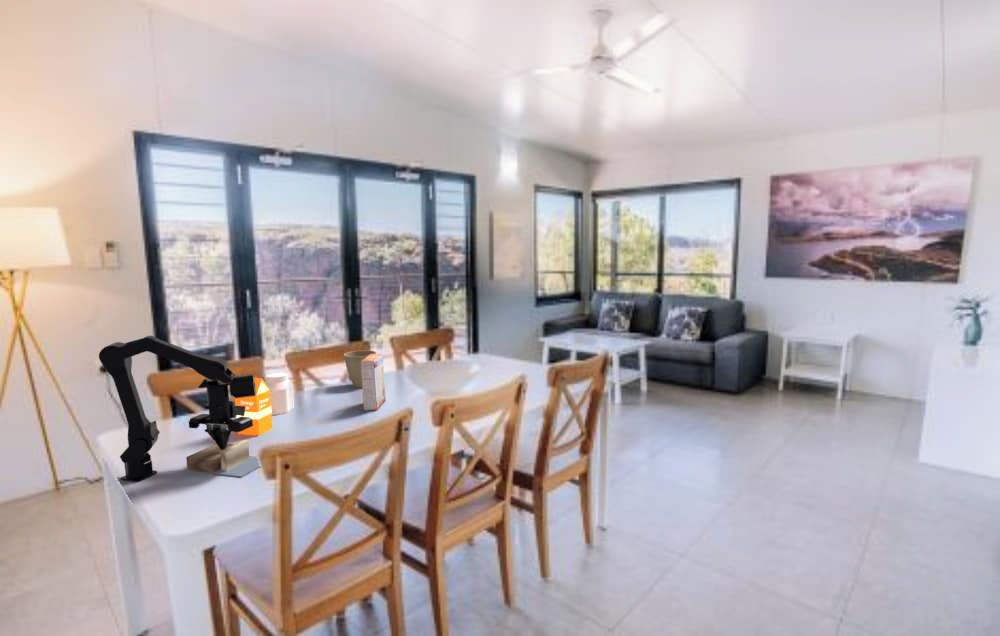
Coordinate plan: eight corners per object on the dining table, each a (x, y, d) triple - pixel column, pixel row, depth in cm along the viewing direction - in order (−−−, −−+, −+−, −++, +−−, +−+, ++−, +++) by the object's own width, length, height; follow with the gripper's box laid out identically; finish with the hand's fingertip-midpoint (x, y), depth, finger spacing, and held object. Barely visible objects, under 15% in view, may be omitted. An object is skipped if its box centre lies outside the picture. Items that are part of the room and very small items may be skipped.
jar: (284, 415, 204) (282, 378, 202) (261, 415, 204) (258, 378, 202) (297, 406, 215) (294, 371, 213) (274, 406, 215) (272, 371, 213)
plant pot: (339, 388, 242) (337, 355, 240) (357, 380, 256) (355, 349, 254) (366, 390, 238) (364, 357, 236) (383, 382, 252) (382, 351, 250)
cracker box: (372, 400, 222) (370, 353, 219) (386, 400, 221) (384, 353, 219) (362, 410, 208) (359, 360, 205) (377, 410, 208) (374, 360, 205)
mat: (213, 474, 150) (213, 472, 150) (246, 456, 162) (246, 455, 162) (241, 477, 147) (241, 476, 147) (272, 459, 160) (272, 458, 159)
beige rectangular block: (220, 451, 150) (226, 451, 150) (243, 440, 159) (248, 440, 158) (221, 470, 151) (226, 471, 151) (243, 458, 160) (249, 459, 159)
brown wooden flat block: (187, 469, 153) (186, 457, 152) (219, 454, 164) (218, 442, 164) (214, 473, 150) (213, 460, 150) (245, 457, 162) (244, 445, 161)
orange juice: (259, 435, 181) (254, 380, 178) (237, 434, 182) (232, 379, 180) (273, 428, 188) (269, 375, 186) (252, 427, 190) (247, 374, 187)
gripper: (263, 394, 159) (267, 442, 161) (214, 391, 164) (218, 437, 166) (236, 404, 149) (241, 456, 151) (184, 401, 153) (190, 450, 155)
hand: (223, 449), depth 156 cm, fingers closed
